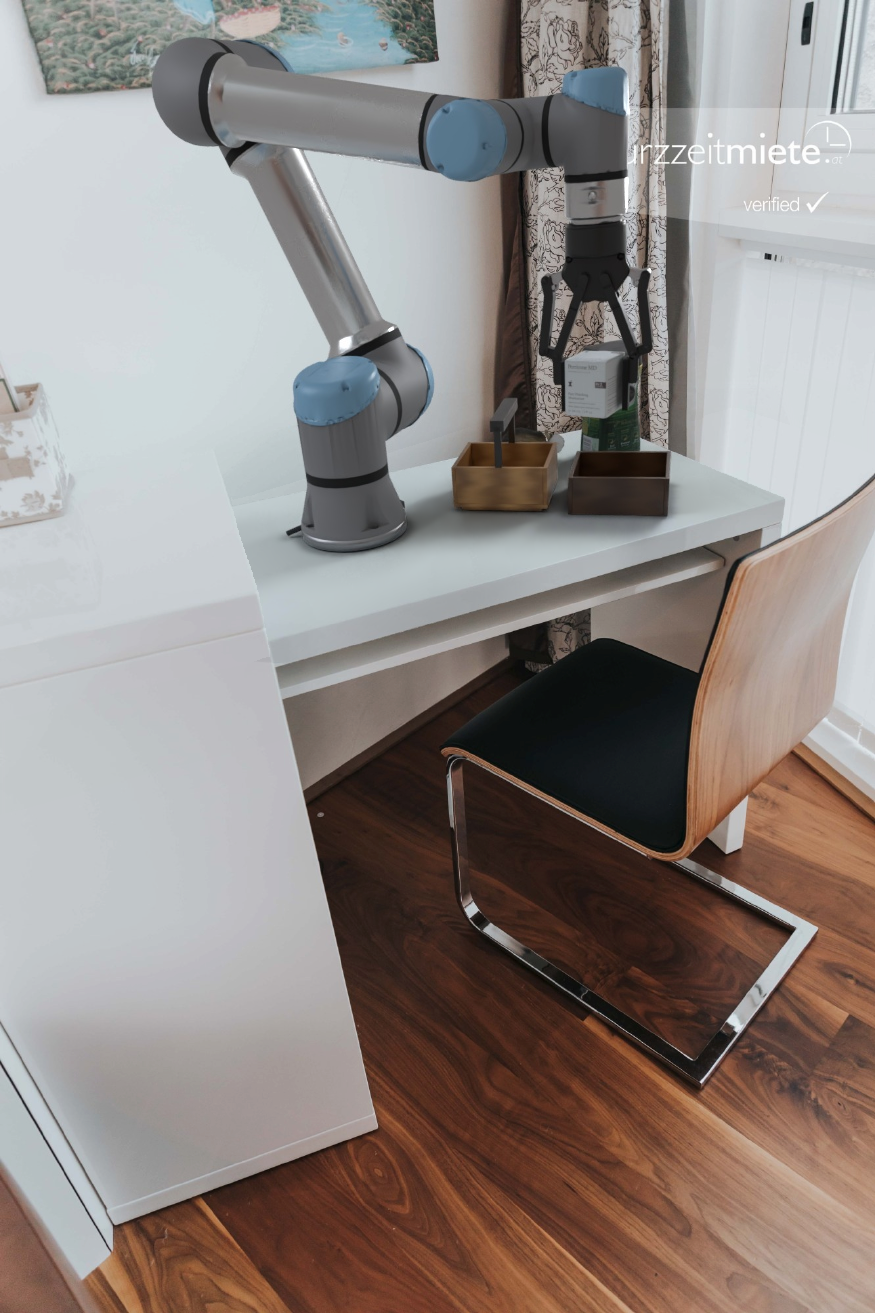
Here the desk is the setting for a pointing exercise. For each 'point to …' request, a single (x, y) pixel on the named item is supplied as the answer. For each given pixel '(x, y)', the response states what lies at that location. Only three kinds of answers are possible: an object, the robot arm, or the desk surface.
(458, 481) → the box
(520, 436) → the eagle figurine
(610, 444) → the coffee jar
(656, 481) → the dark brown wooden box
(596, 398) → the product carton
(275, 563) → the desk surface
